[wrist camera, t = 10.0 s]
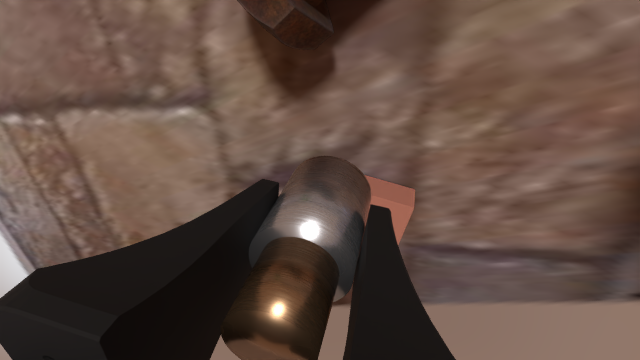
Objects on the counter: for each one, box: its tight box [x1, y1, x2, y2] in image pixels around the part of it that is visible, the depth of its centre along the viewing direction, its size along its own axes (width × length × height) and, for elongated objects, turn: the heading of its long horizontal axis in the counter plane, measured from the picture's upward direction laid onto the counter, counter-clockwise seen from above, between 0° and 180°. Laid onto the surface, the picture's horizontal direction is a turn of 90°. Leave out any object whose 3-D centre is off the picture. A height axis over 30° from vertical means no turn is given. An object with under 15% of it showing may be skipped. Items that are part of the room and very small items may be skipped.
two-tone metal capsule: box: [221, 156, 371, 360], centre depth 11 cm, size 3×3×6 cm
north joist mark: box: [361, 175, 415, 244], centre depth 21 cm, size 3×5×2 cm, turn 170°
